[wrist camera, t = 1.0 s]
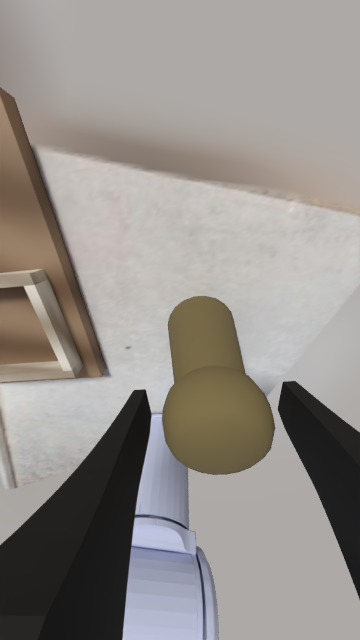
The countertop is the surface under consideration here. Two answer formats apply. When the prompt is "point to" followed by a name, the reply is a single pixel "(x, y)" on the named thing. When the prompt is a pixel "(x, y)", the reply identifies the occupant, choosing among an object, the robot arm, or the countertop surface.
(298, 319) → the countertop surface
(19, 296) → the board
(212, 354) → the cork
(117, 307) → the countertop surface
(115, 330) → the countertop surface
